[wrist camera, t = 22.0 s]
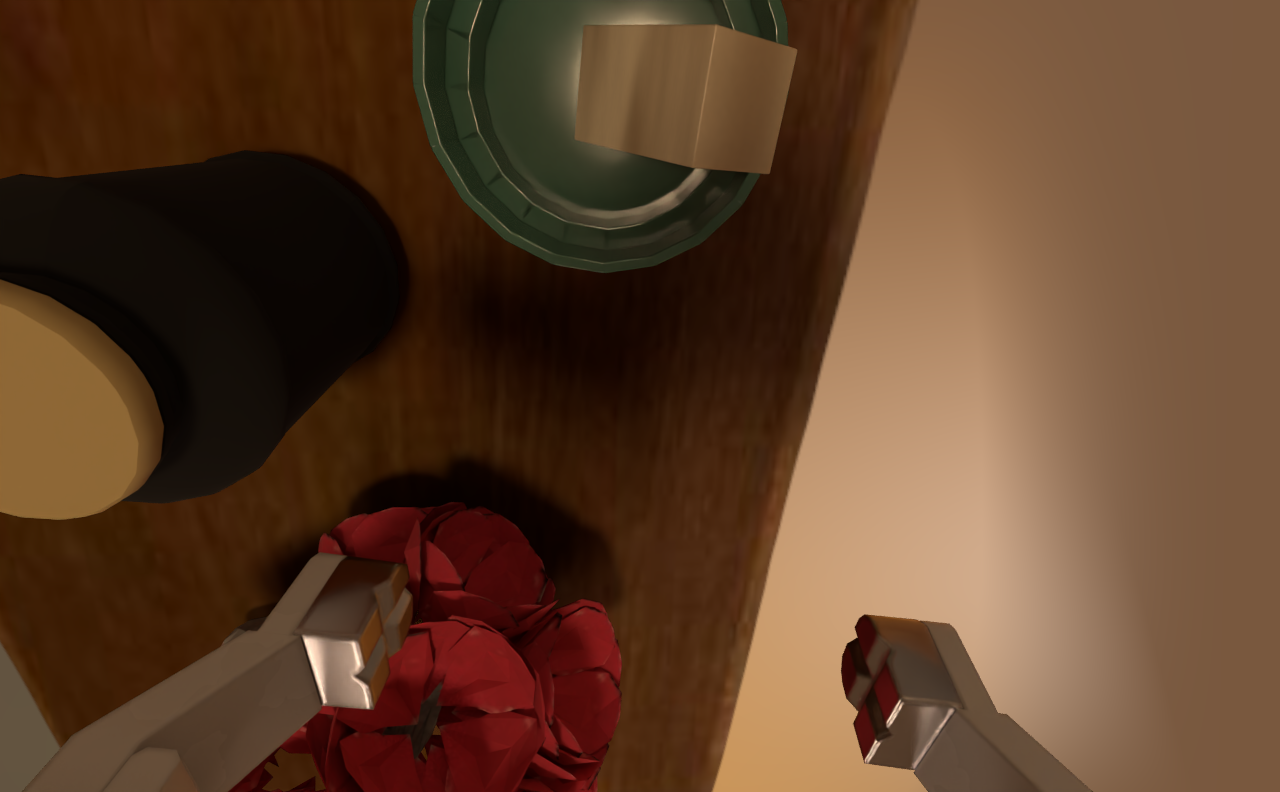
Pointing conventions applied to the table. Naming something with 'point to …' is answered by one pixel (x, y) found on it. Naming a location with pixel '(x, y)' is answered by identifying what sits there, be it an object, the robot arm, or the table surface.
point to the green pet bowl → (564, 129)
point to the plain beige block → (684, 94)
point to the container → (174, 324)
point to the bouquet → (468, 669)
